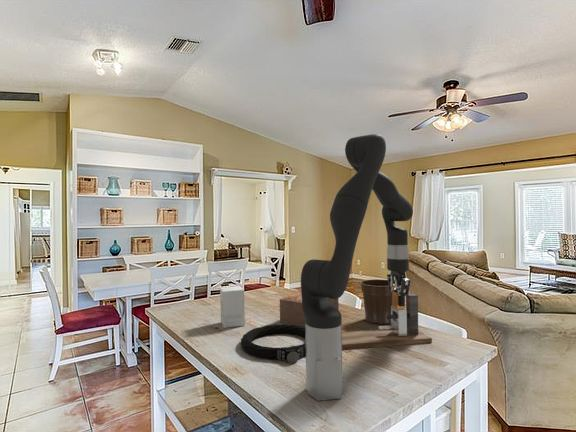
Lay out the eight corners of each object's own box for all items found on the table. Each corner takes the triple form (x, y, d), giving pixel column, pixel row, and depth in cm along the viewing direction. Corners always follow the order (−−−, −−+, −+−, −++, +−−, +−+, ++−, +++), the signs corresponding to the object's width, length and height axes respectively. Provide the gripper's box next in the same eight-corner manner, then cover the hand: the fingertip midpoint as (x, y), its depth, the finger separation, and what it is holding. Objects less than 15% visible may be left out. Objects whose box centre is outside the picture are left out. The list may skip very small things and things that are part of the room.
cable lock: (305, 319, 138) (335, 346, 109) (305, 329, 138) (335, 358, 109) (235, 326, 130) (247, 357, 101) (235, 336, 130) (248, 370, 101)
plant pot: (353, 317, 151) (352, 280, 151) (382, 313, 158) (382, 277, 158) (376, 328, 136) (375, 287, 136) (408, 323, 143) (407, 283, 143)
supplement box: (241, 319, 151) (240, 285, 151) (245, 325, 142) (244, 289, 142) (220, 322, 148) (219, 287, 148) (223, 328, 139) (222, 291, 139)
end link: (406, 335, 122) (406, 294, 122) (381, 337, 121) (381, 295, 121) (399, 330, 128) (398, 290, 128) (375, 332, 127) (374, 291, 127)
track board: (431, 342, 120) (431, 297, 120) (337, 349, 115) (336, 302, 115) (414, 331, 132) (413, 290, 132) (327, 337, 127) (327, 295, 127)
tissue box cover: (308, 328, 138) (308, 303, 138) (280, 322, 146) (279, 299, 146) (338, 313, 159) (338, 291, 159) (311, 309, 167) (311, 288, 167)
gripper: (417, 259, 118) (418, 309, 118) (398, 254, 133) (399, 299, 132) (396, 259, 117) (397, 310, 117) (379, 255, 131) (380, 300, 131)
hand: (398, 304), depth 125 cm, fingers closed on end link, 4 cm apart
